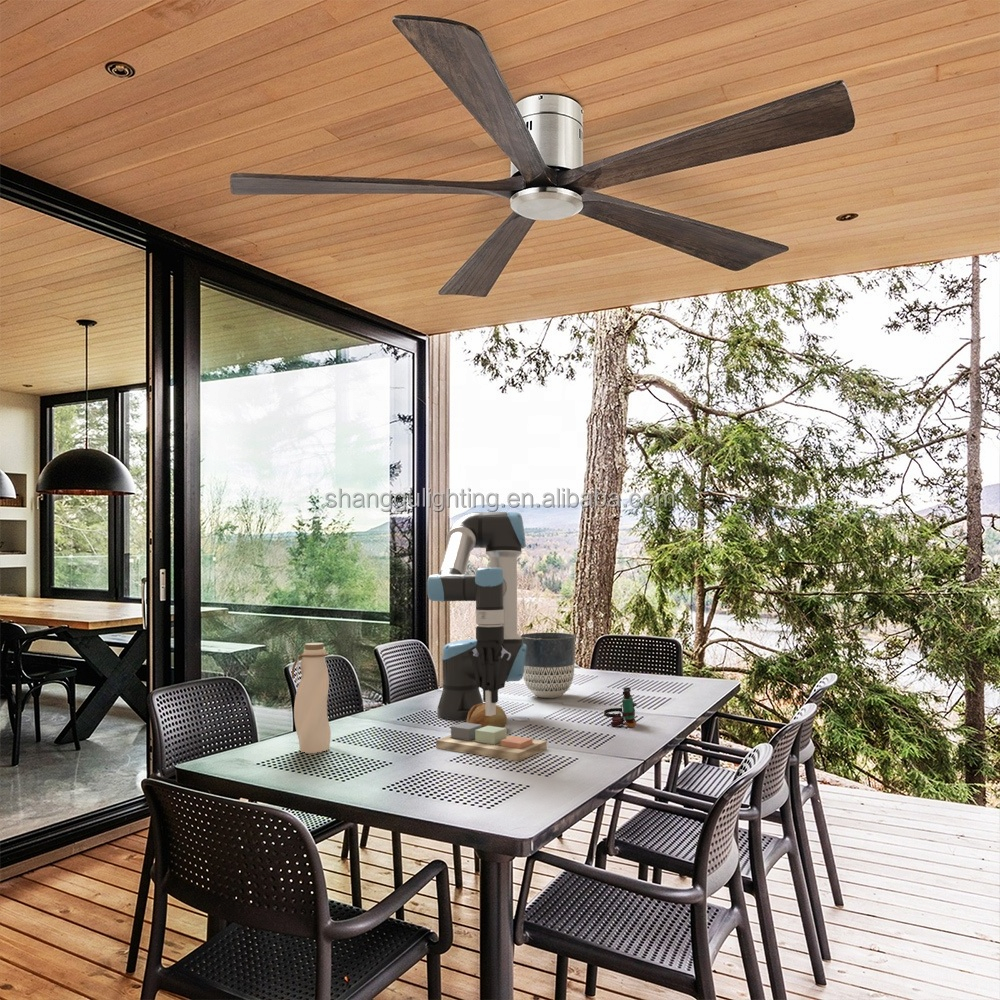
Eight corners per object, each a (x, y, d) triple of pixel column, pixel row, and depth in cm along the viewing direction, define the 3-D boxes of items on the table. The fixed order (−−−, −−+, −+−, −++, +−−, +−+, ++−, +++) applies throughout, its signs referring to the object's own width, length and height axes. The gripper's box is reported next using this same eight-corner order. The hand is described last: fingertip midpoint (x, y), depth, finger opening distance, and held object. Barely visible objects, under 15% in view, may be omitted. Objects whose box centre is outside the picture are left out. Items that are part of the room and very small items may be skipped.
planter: (585, 695, 283) (584, 634, 284) (559, 704, 267) (558, 640, 268) (538, 690, 293) (537, 631, 295) (510, 699, 277) (509, 637, 278)
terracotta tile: (500, 752, 206) (500, 740, 207) (513, 747, 211) (512, 735, 212) (520, 755, 203) (520, 743, 203) (532, 750, 208) (532, 738, 208)
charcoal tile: (451, 737, 215) (451, 726, 215) (464, 733, 220) (464, 722, 220) (469, 740, 212) (469, 729, 212) (482, 735, 217) (481, 724, 217)
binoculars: (602, 688, 243) (635, 686, 241) (606, 723, 242) (639, 721, 240) (599, 694, 234) (634, 691, 232) (604, 730, 233) (638, 728, 231)
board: (436, 747, 213) (436, 740, 213) (466, 736, 225) (466, 729, 225) (518, 761, 199) (518, 753, 199) (546, 748, 210) (546, 741, 210)
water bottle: (296, 756, 206) (296, 647, 207) (288, 748, 213) (288, 643, 215) (335, 751, 210) (335, 644, 212) (326, 744, 218) (326, 641, 220)
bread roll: (457, 735, 227) (456, 706, 228) (487, 724, 240) (487, 697, 240) (484, 739, 222) (484, 710, 222) (514, 728, 234) (513, 701, 235)
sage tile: (475, 741, 211) (475, 730, 211) (488, 736, 216) (488, 725, 216) (494, 744, 208) (494, 732, 208) (506, 739, 213) (506, 728, 213)
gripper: (461, 625, 214) (462, 714, 212) (502, 627, 207) (503, 720, 205) (477, 623, 220) (478, 710, 218) (517, 625, 213) (519, 715, 211)
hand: (490, 714), depth 212 cm, fingers closed
